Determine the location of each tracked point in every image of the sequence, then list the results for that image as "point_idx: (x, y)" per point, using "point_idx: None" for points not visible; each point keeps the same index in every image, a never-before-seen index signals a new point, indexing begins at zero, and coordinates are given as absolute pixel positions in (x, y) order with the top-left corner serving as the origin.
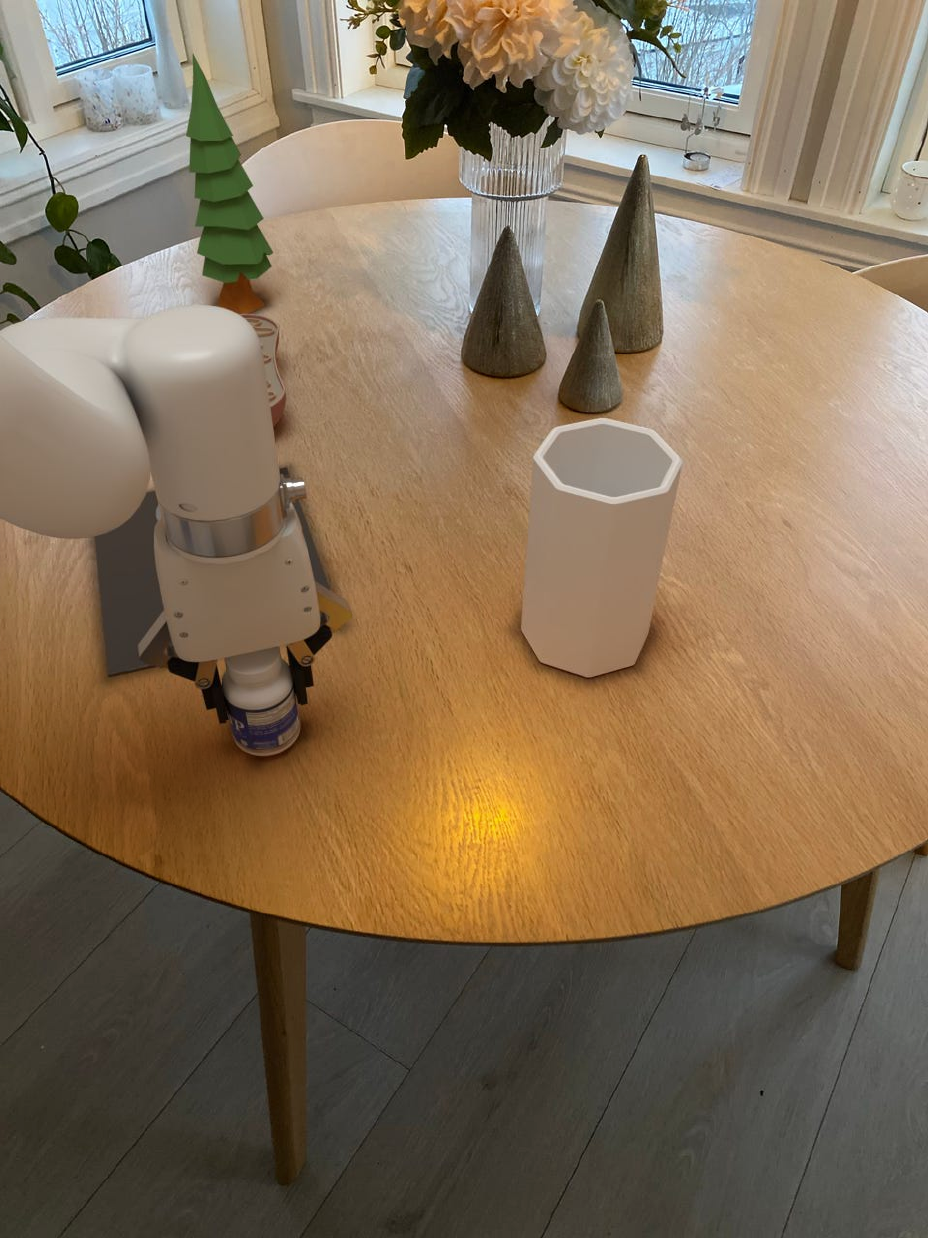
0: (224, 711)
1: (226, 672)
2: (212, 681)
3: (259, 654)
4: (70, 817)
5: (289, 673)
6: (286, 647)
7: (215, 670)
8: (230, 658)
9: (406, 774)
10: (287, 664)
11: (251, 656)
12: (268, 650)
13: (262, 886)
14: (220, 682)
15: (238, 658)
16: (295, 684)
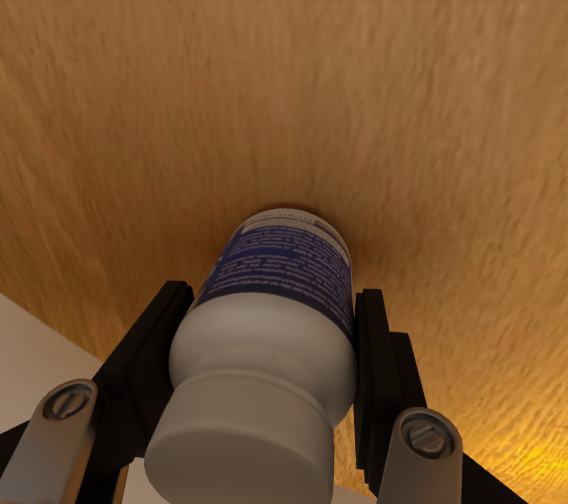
0: None
1: (176, 366)
2: (127, 473)
3: (259, 496)
4: (15, 295)
5: (348, 408)
6: (363, 393)
7: (136, 405)
8: (163, 482)
9: (481, 382)
10: (351, 381)
11: (232, 496)
12: (292, 495)
13: None
14: (161, 391)
15: (190, 485)
16: (354, 422)
